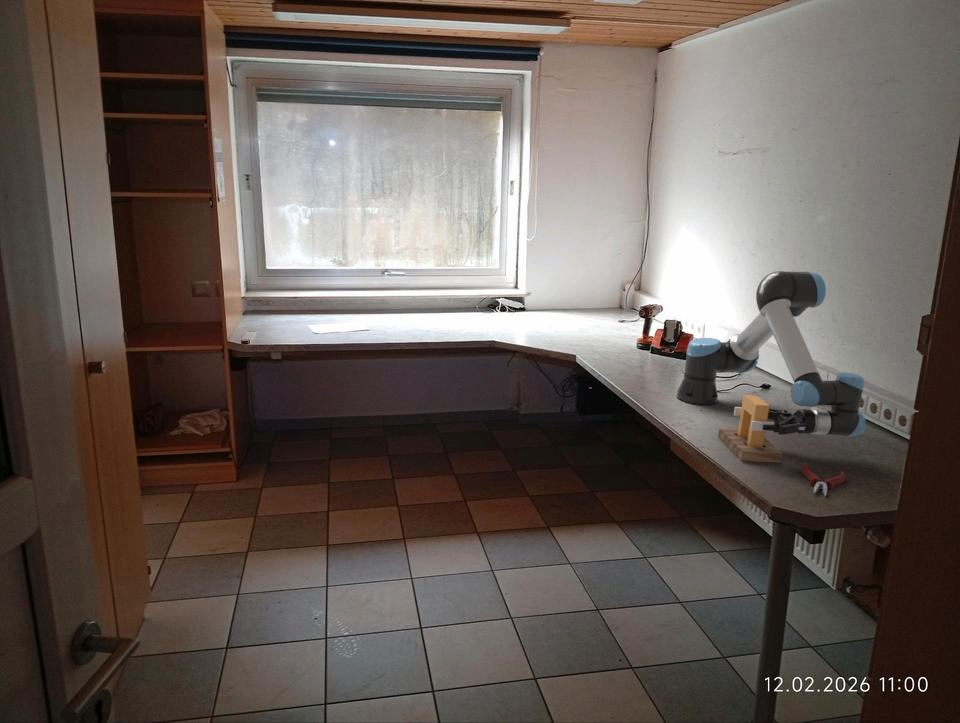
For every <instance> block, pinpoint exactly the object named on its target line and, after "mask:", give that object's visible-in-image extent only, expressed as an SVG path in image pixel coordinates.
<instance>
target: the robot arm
mask: <svg viewBox="0 0 960 723" xmlns="http://www.w3.org/2000/svg"><path fill="white" fill-rule="evenodd" d="M826 290H827V286H826V283H825V280H824V278H823V277H822V276H821V275H820V274H818V273H816V272H811V271H780V270H779V271H773V272H770V273H769V274H766V276H764V277H763V278H762V280H761V281H760V282H759V284H758V286H757V290H756V292H755V299H756V305H757V309H758V311H759V314H758V315H757V316H756V317H755V318H754V319H753V320H752V321H751V322H750V323H749V324H748V325H747V327H745V329H743V331H742V332H741V333H736V334H734V335H733V336H731V337H730V338H729V340H727V341H726V342H721V340H719V339H718V338H713V337H698V338H694V339H692V340H690V341H689V343H688V345H687V350H686V359H685V364H684V365H685V366H684V373H683V378H682V380H681V382H680V384H679V387H678V388H677V391H676V398H679V399H678V400H680V399H681V400H680V401H682V400H683V401H682V402H685V401H686V402H685V403H689V402H690V403H689V404H693V403H696V404H695V405H701V404H703V406H704V405H705V406H706V405H707V406H708V405H716V404H717V403H718V401H719V400H718V398H719V394H718V390H717V384H716V382H717V381H716V379H717V374H719V373H720V374H723V373H725V374H726V373H727V374H728V373H730V374H731V373H734V374H735V373H736V374H743V373H748V372H751V371H752V370H753V369H755V368H756V367H757V364H758V360H759V358H760V349H761V347H763V345H765V344H766V342H768V341H769V340H770V339H771V338H772V337H774V339H775V342H776V344H777V347H778V349H779V351H780V354H781V355H782V358H783V360H784V362H785V364H786V367H787V369H788V371H789V374H790V376H791V378H792V380H793V384H792V385H791V387H790V398H791V400H792V402H793V403H794V404H795V405H797V406H800V407H819V406H821V407H822V406H830V410H828V409H827V410H826V409H808V408H807V409H804V408H799V409H797V410H796V411H795V412H794V414H792V412H788V410H786V409H777V408H772V407H769V411H768V417H767V420H772V421H767V422H762V421H751V426H750V430H754V431H765V432H774V433H778V435H780V436H782V435H789V434H795V433H797V434H802V435H803V434H804V435H805V434H806V435H810V434H812V435H816V436H817V437H820V435H825V436H826V435H828V436H841V437H857V436H861V435H862V434H863V433H864V431H865V430H866V417H865V415H864V414H863V413H861V412H859V409H860V405H861V401H862V397H863V396H862V395H863V392H864V385H865V379H864V377H863V376H862V375H860V374H857V373H853V372H839V373H837V375H836V378H835V380H823V379H822V377H821V375H820V373H819V370H818V369H817V366H816V364H815V361H814V360H813V357H812V355H811V353H810V350H809V348H808V346H807V344H806V342H805V339H804V337H803V335H802V333H801V330H800V328H799V325H798V324H797V321H796V320H795V318H797V317H800V316H801V315H802V314H803V313H804V312H805V311H806V310H807V309H808V308H811V309H814V308H816V307H820V305H822V304H823V303H824V301H825V298H826V294H827V293H826V292H827V291H826ZM741 409H742V406H734V411H733V416H737V417H740V415H741ZM773 421H774V422H773Z"/></svg>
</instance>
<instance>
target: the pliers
mask: <svg viewBox="0 0 960 723" xmlns="http://www.w3.org/2000/svg"><path fill="white" fill-rule="evenodd" d="M808 466H809V464H808V463H806V462H804V463H803V464H802V467H801V469H800V471H801V472H800V473H801V474H802V475H803V477H805V478H806V479H807V480H808V479H809V480H810V481H809V480H808V481H809V486H814V487H813V495H815V494H816V493H817V492H818V491H819V490H821V489H823V490H821V492H822V495H823V496H824V497H826V496H827V494H828V490H830V489H831V490H833V489H834V487H835V486H839V485H841V484H844V483H845V481H846V473H845V472H844V471H843V470H840V471H839V472H840V474H839V475H837V476H834V477H831V478H826V479H823V480H822V479H821V477H818V476H817V474H815V473H814V472H812V471H811V470H810V469H809V468H808Z"/></svg>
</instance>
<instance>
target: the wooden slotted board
mask: <svg viewBox="0 0 960 723" xmlns="http://www.w3.org/2000/svg"><path fill="white" fill-rule="evenodd" d="M737 434H738V428H726V427H725V428H724V427H723V428H721V427H719V428H718V435H717V437H718V438H719V439H720V440H721V441H722V442H723V443H724V445H725V446H726V447H727V448H728V449H729V450H730V451H731V452H732V453H733V454H734V455H735V456H736V457H737V459H739V460H740V461H744V462H758V463H759V462H762V463H764V462H765V463H777V464H778V463H779V464H780V463H782V459H783V452H782V451H781V450H779V449H778V448H777V447H776V446H775V445H774V444H773V443H771V441H769V440H768V439H767V438H766V437H765V436H764V441H763V447H749V446H747V441H748V438H746V437H737Z"/></svg>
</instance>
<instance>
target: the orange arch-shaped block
mask: <svg viewBox="0 0 960 723" xmlns="http://www.w3.org/2000/svg"><path fill="white" fill-rule="evenodd" d="M742 397H743V399H742V402H741V407H742V409H741V415H740V416H739V420H738V421H739V423H738V428H737V429H738V434H737V437H746V438H748V441H747V446H749V447H763V441H764V437H765V434H766V431H754V430H750V426H751V421H762V422H768V419H767V417H768V411H769V408H770V405H769V404H768V403H766V402H765V401H764V400H763V399H762V398H760V397H759V396H757V395H749V394H748V395H747V394H743V396H742Z"/></svg>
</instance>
